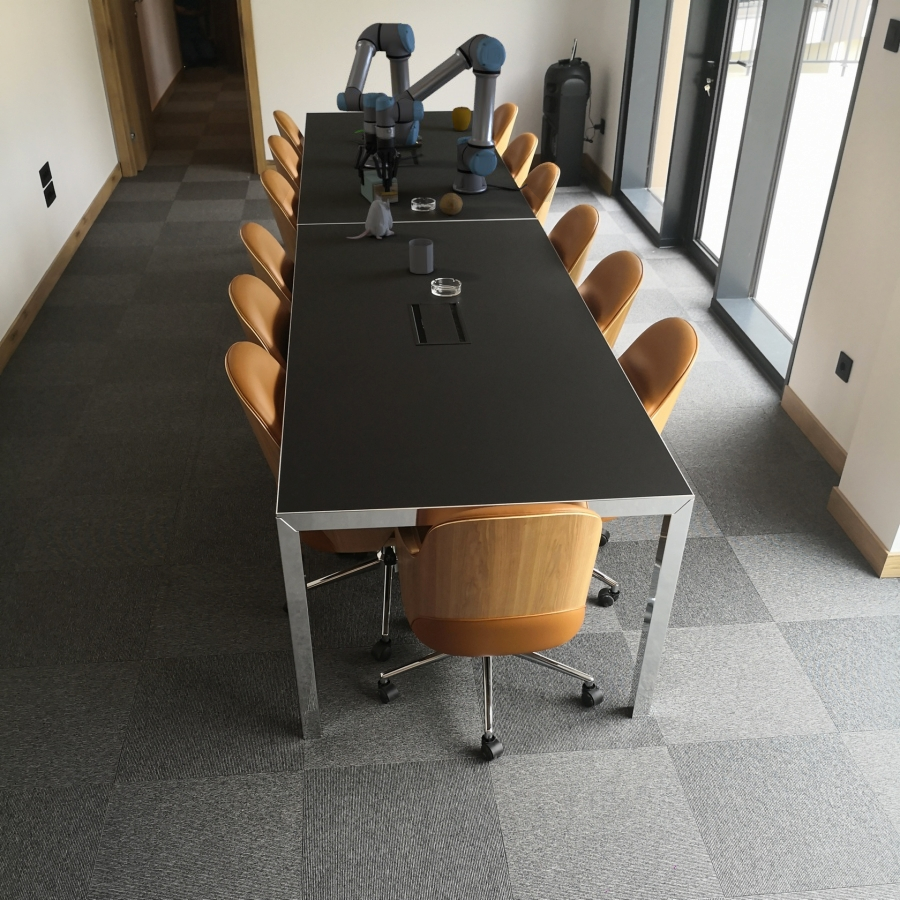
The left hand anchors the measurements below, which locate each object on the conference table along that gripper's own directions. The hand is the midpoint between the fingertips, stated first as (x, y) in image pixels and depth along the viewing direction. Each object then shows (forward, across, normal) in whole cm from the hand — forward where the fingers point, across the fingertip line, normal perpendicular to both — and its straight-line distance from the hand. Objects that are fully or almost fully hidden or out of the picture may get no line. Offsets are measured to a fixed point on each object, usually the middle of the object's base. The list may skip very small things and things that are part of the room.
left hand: (375, 183), depth 383 cm
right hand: (0, 0, -17) cm, 17 cm away
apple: (+5, +82, +102) cm, 131 cm away
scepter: (+5, +31, +91) cm, 97 cm away
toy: (+5, -20, -56) cm, 60 cm away
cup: (+5, -12, -94) cm, 95 cm away
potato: (+5, +21, -38) cm, 43 cm away
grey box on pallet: (+5, 0, -4) cm, 7 cm away
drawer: (+4, 0, -10) cm, 11 cm away
